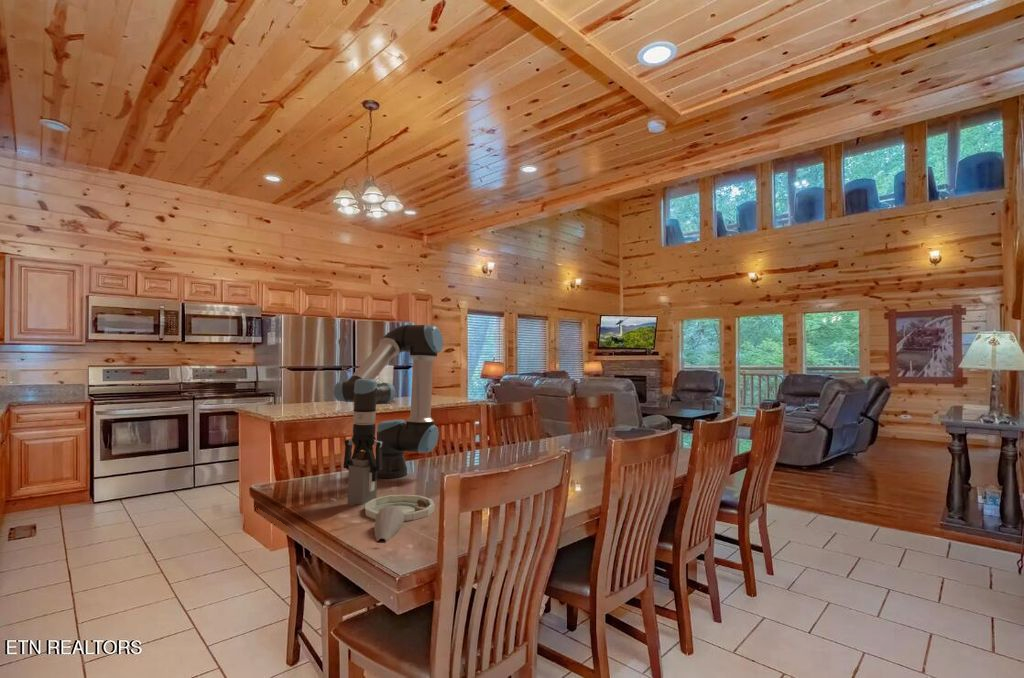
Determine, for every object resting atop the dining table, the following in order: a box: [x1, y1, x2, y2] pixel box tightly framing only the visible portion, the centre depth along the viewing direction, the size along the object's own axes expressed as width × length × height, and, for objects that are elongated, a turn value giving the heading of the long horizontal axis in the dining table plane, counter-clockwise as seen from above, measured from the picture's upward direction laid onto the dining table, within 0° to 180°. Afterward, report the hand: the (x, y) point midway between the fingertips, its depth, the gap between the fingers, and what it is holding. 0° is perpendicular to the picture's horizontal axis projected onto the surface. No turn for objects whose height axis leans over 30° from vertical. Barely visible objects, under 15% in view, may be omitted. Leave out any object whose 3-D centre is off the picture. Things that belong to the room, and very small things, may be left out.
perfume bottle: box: [347, 450, 378, 507], centre depth 179 cm, size 7×7×18 cm
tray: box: [364, 494, 436, 522], centre depth 169 cm, size 22×22×3 cm
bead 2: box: [415, 507, 424, 512], centre depth 166 cm, size 3×3×2 cm
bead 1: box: [417, 499, 426, 507], centre depth 174 cm, size 3×3×2 cm
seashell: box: [373, 505, 405, 544], centre depth 150 cm, size 9×11×15 cm
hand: (362, 489), depth 179 cm, fingers closed on perfume bottle, 6 cm apart
